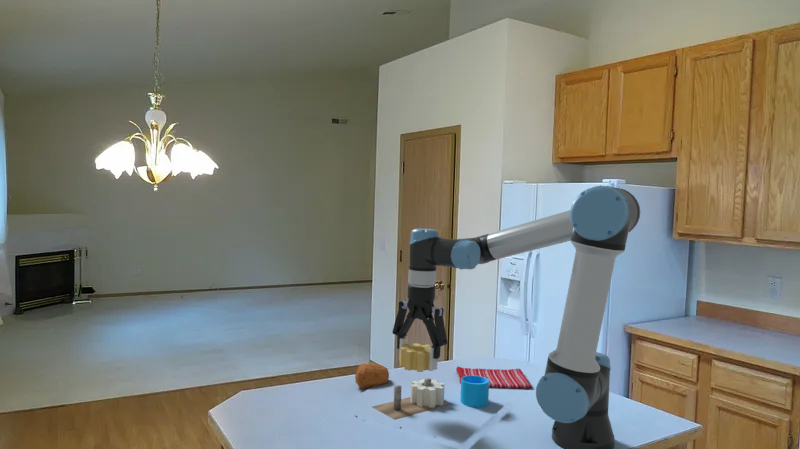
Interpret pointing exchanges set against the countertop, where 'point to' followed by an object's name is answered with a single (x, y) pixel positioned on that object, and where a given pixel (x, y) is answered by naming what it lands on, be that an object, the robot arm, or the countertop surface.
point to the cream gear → (427, 393)
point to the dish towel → (498, 377)
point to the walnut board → (404, 404)
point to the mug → (474, 391)
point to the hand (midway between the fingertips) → (417, 365)
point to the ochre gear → (415, 357)
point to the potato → (371, 375)
